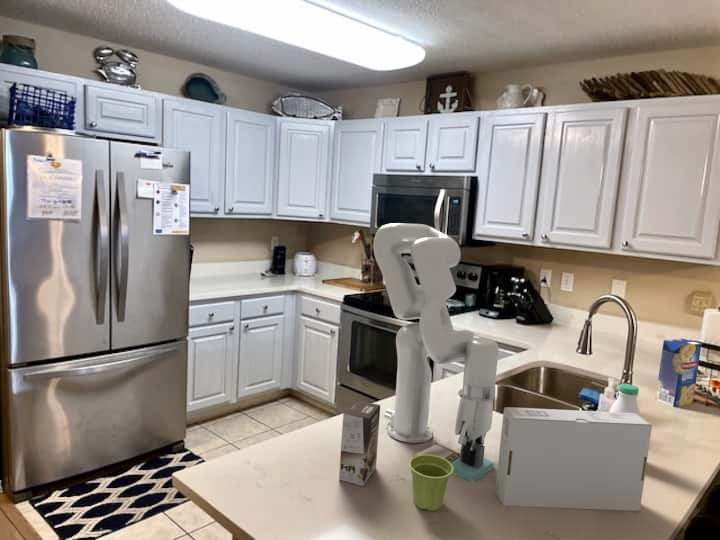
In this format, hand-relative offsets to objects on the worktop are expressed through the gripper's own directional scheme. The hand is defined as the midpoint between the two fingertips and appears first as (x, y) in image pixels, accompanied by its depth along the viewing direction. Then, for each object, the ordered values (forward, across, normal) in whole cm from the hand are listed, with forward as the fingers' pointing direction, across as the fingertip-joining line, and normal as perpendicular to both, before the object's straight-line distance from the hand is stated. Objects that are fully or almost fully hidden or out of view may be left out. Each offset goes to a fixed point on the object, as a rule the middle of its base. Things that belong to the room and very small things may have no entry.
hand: (471, 461), depth 124 cm
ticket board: (+2, +3, -8) cm, 9 cm away
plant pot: (+2, +20, +1) cm, 20 cm away
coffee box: (+2, +23, -17) cm, 28 cm away
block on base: (+2, 0, 0) cm, 2 cm away
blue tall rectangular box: (+2, -100, +24) cm, 103 cm away
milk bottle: (+2, -37, +24) cm, 44 cm away
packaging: (+2, -5, +22) cm, 22 cm away
